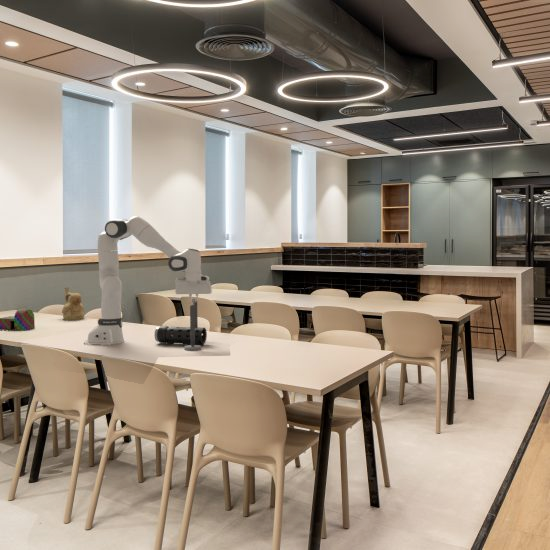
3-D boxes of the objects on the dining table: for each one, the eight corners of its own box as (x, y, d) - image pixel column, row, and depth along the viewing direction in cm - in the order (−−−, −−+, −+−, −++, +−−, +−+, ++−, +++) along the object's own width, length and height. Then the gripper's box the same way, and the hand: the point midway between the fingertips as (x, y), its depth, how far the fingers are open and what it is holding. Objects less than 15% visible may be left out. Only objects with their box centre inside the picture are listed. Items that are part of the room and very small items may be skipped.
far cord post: (187, 341, 330) (186, 300, 329) (188, 338, 339) (188, 299, 338) (203, 341, 331) (202, 300, 330) (203, 338, 340) (203, 298, 339)
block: (40, 328, 388) (39, 307, 387) (22, 331, 372) (22, 310, 371) (9, 327, 395) (9, 306, 394) (-9, 330, 379) (-10, 309, 378)
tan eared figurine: (69, 323, 411) (68, 289, 410) (56, 321, 425) (55, 287, 423) (90, 320, 424) (89, 287, 423) (77, 318, 437) (76, 286, 436)
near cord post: (183, 350, 300) (183, 306, 299) (184, 347, 309) (184, 304, 308) (200, 350, 301) (200, 305, 300) (201, 347, 310) (201, 304, 309)
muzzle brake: (201, 347, 313) (201, 328, 312) (154, 345, 318) (153, 327, 318) (207, 344, 322) (206, 326, 321) (160, 342, 328) (160, 324, 327)
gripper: (174, 278, 314) (174, 302, 315) (211, 277, 316) (211, 302, 317) (175, 277, 321) (175, 301, 321) (211, 277, 322) (211, 301, 323)
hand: (193, 302), depth 319 cm, fingers closed
